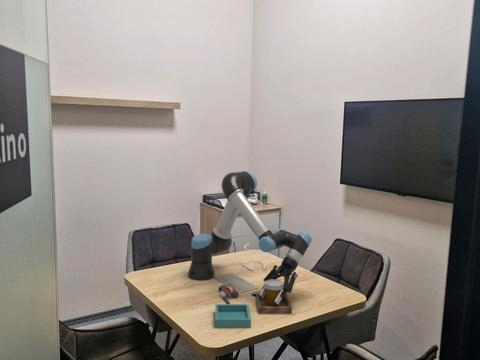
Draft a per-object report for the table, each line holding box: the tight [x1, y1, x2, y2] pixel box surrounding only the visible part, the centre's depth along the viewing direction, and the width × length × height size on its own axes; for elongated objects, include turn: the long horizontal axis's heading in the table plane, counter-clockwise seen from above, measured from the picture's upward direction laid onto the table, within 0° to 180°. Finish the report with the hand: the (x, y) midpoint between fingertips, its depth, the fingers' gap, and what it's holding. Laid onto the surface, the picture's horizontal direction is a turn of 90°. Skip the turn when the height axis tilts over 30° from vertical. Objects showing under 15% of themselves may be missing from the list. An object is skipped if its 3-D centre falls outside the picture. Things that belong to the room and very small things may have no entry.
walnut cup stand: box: [255, 293, 293, 315], centre depth 198 cm, size 15×15×3 cm
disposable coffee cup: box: [263, 279, 284, 306], centre depth 197 cm, size 10×10×12 cm
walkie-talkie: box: [218, 284, 239, 304], centre depth 208 cm, size 9×4×20 cm
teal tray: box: [214, 303, 252, 329], centre depth 184 cm, size 15×15×4 cm
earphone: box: [241, 242, 267, 272], centre depth 255 cm, size 14×17×18 cm
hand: (268, 299), depth 195 cm, fingers open, 9 cm apart
